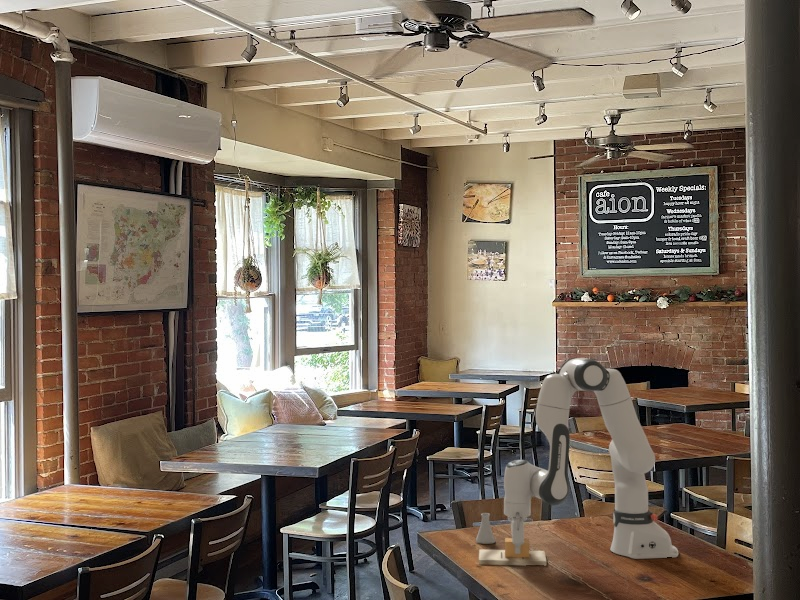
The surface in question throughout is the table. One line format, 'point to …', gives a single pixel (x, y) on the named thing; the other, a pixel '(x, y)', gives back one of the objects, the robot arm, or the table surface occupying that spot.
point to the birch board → (510, 558)
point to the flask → (485, 531)
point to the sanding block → (511, 548)
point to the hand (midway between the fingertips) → (517, 550)
